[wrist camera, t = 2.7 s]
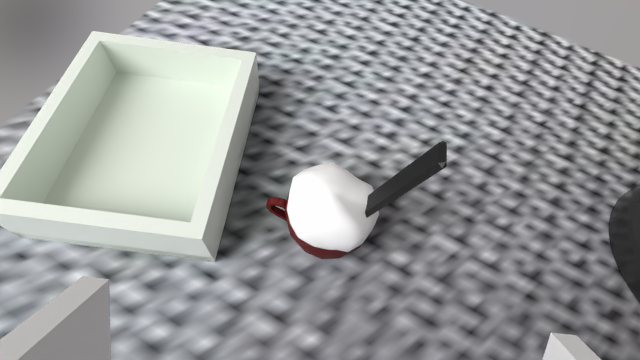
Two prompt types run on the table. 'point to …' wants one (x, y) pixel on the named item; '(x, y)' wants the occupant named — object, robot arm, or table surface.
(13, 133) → the table surface
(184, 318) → the table surface
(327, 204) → the cocoa
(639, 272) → the robot arm
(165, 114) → the bin
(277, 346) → the table surface
